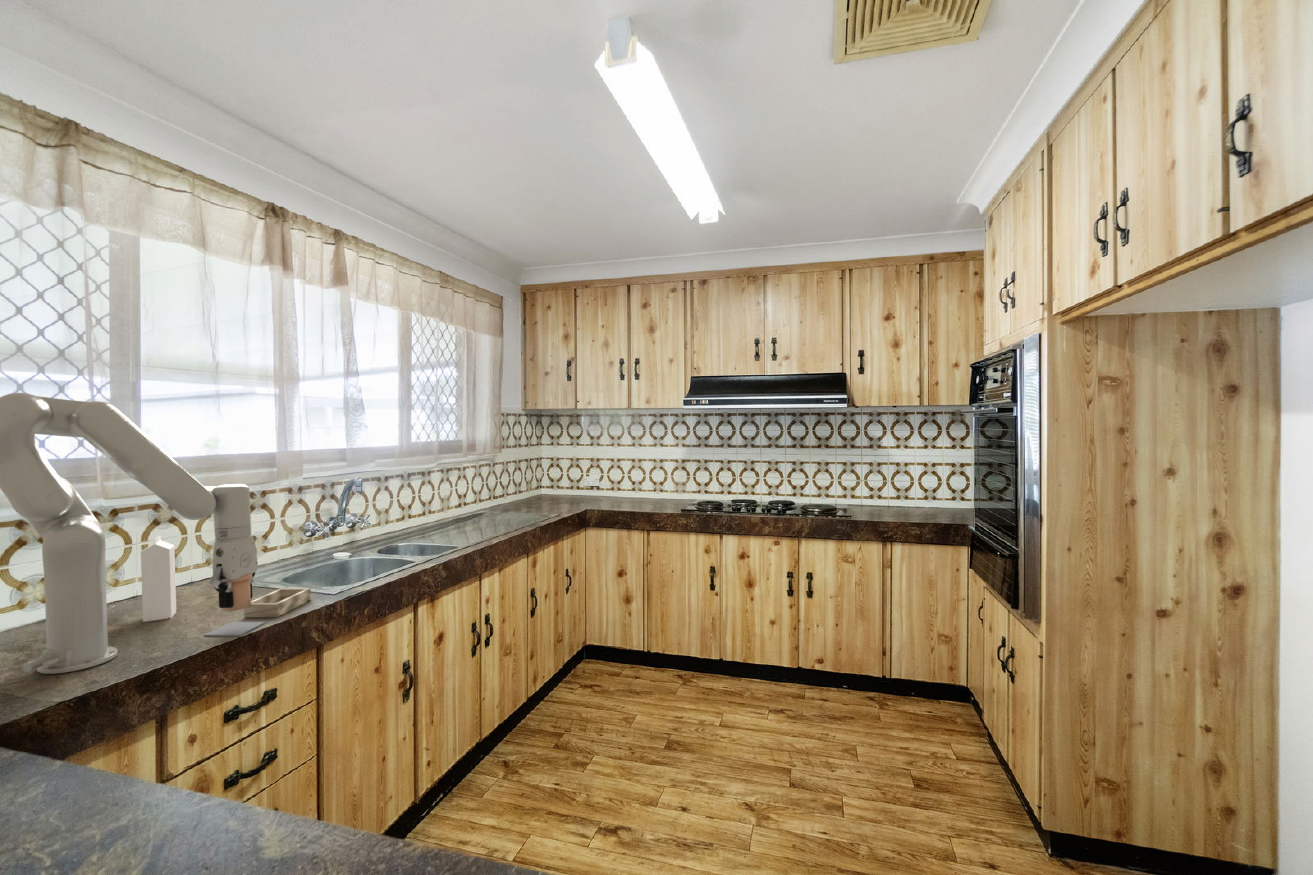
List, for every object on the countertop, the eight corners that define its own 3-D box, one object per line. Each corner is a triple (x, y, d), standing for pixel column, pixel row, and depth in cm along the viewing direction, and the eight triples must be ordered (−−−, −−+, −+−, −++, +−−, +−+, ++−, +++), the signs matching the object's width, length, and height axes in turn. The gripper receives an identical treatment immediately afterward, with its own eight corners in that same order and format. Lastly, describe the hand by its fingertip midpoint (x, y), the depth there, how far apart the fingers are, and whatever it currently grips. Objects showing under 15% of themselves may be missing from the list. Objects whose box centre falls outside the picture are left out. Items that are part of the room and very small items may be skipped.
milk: (142, 622, 154) (139, 540, 153) (148, 615, 159) (145, 536, 158) (172, 618, 157) (168, 537, 156) (177, 611, 162) (174, 533, 161)
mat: (240, 636, 143) (240, 634, 143) (203, 636, 143) (203, 634, 143) (264, 623, 152) (264, 622, 152) (230, 623, 152) (230, 622, 152)
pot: (240, 611, 144) (238, 579, 144) (212, 612, 144) (210, 579, 144) (259, 602, 151) (258, 571, 151) (233, 602, 151) (231, 571, 151)
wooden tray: (277, 617, 157) (277, 604, 157) (244, 617, 157) (244, 604, 157) (310, 600, 172) (310, 588, 172) (280, 600, 172) (280, 588, 172)
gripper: (222, 540, 138) (225, 614, 139) (270, 526, 156) (273, 592, 156) (190, 540, 138) (194, 615, 139) (242, 526, 156) (245, 593, 156)
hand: (236, 602), depth 148 cm, fingers closed on pot, 6 cm apart
